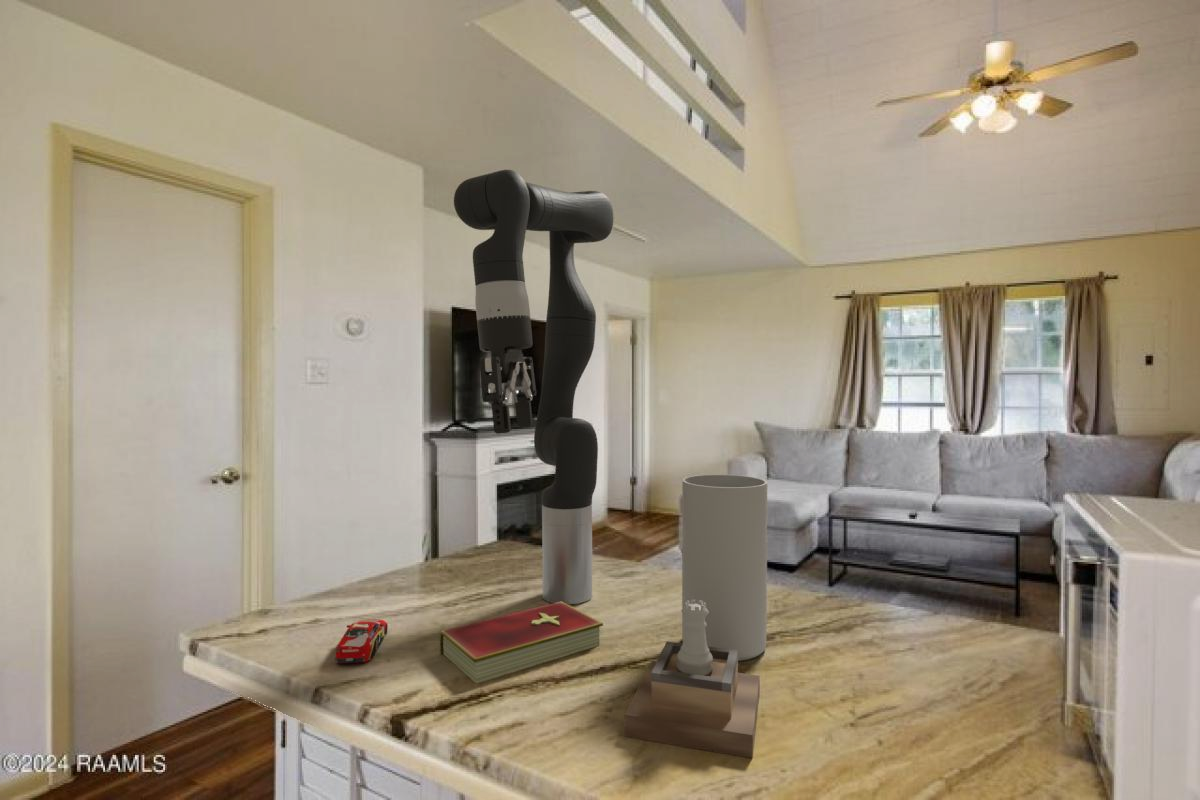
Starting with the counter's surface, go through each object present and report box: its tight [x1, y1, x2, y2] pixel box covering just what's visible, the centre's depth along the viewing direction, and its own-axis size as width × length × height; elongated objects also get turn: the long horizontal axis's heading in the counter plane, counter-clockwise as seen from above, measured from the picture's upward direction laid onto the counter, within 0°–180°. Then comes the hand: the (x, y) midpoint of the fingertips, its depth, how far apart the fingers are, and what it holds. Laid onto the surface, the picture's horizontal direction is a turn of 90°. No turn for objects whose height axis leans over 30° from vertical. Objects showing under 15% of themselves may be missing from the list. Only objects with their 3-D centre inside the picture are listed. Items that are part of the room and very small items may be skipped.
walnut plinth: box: [624, 640, 761, 759], centre depth 75 cm, size 14×14×6 cm
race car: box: [334, 618, 388, 664], centre depth 94 cm, size 13×5×4 cm, turn 5°
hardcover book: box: [439, 601, 604, 684], centre depth 93 cm, size 12×21×4 cm, turn 126°
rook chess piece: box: [676, 600, 714, 676], centre depth 75 cm, size 4×4×8 cm
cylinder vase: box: [681, 474, 768, 662], centre depth 94 cm, size 12×12×25 cm
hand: (514, 429), depth 90 cm, fingers open, 8 cm apart
